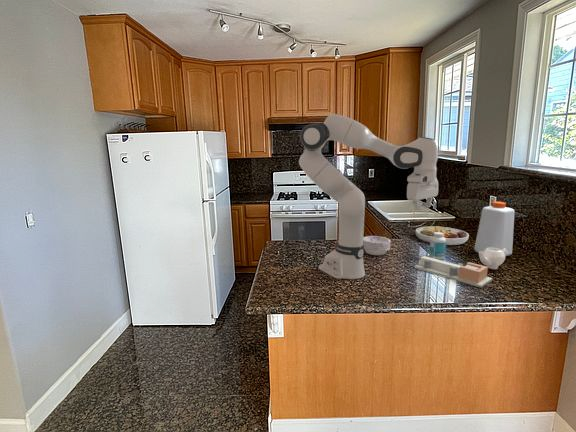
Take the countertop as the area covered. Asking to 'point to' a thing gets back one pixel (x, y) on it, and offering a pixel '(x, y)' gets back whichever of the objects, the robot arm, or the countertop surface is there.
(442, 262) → the white long bar
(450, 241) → the bowl
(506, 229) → the plastic bottle
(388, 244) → the paper bowls
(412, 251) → the countertop surface
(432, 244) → the pill bottle
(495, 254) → the teapot
